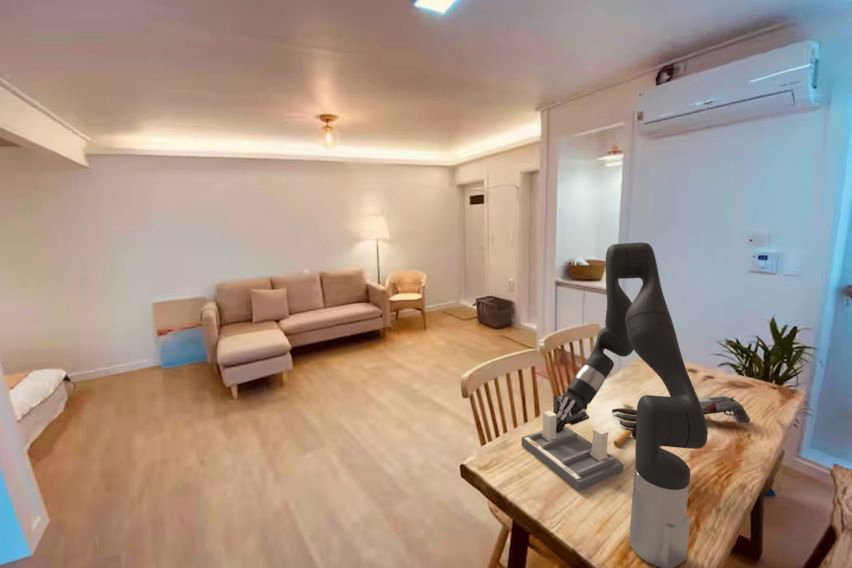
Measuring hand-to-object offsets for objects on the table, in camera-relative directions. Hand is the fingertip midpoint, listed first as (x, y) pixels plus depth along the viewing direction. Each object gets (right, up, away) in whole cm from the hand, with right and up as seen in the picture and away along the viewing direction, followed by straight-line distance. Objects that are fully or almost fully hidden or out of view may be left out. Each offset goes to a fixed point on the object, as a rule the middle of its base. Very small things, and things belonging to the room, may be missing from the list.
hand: (554, 430), depth 113 cm
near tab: (+9, -4, -10) cm, 14 cm away
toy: (+32, -3, +8) cm, 33 cm away
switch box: (+3, -6, -5) cm, 8 cm away
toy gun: (+57, -1, +13) cm, 59 cm away
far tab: (-2, -2, 0) cm, 3 cm away
